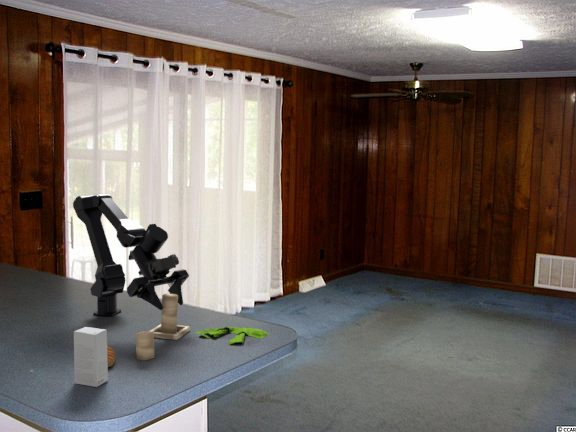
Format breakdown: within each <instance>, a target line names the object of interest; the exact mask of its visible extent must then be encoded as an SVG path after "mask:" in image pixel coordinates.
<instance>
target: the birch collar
mask: <svg viewBox="0 0 576 432" xmlns="http://www.w3.org/2000/svg"><path fill="white" fill-rule="evenodd" d="M149 331H151V332H153V333H154V339H155V338H157V339H164V340H165V339H166V340H176V341H178V340H179V339H180V338H181V337H183V336H185V334H187V333H188V332H190V331H191V326H189V325H179V324H177V333H176V334H168V333H161V323H160V324H159V325H157V326H155V327H154V328H152V329H150V330H149Z"/></svg>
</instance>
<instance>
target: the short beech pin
mask: <svg viewBox="0 0 576 432" xmlns="http://www.w3.org/2000/svg"><path fill="white" fill-rule="evenodd" d="M134 336H135V351H136V359H137V360H138V361H149V360H151V359H154V358H155V357H156V356H155V355H156V354H155V337H154V333H153V332H151V331H150V330H145V331H143V330H142V331H138V332H137V333H135V335H134Z"/></svg>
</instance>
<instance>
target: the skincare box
mask: <svg viewBox="0 0 576 432" xmlns="http://www.w3.org/2000/svg"><path fill="white" fill-rule="evenodd" d="M107 346H108V330H107V329H105V328H98V327H97V328H96V327H90V326H89V327H88V326H84V327H82V328H79V329H76V330H74V331H73V358H74V359H73V360H74V362H73V363H74V365H73V367H74V369H73V370H74V384H77V385H82V386H87V387H94V388H98V387H99V386H101V385H102V384H104V383H106V382H108V381H109V380H108V379H109V376H108V373H109V371H108V370H109V369H108V368H109V367H108V365H107Z"/></svg>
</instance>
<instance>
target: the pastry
mask: <svg viewBox="0 0 576 432" xmlns="http://www.w3.org/2000/svg"><path fill="white" fill-rule="evenodd" d="M116 357H117V356H116V352H115V351H114V348H112V346H109V345H107V365H108V368H110V367H113V366H114V364H115V362H116Z"/></svg>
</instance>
